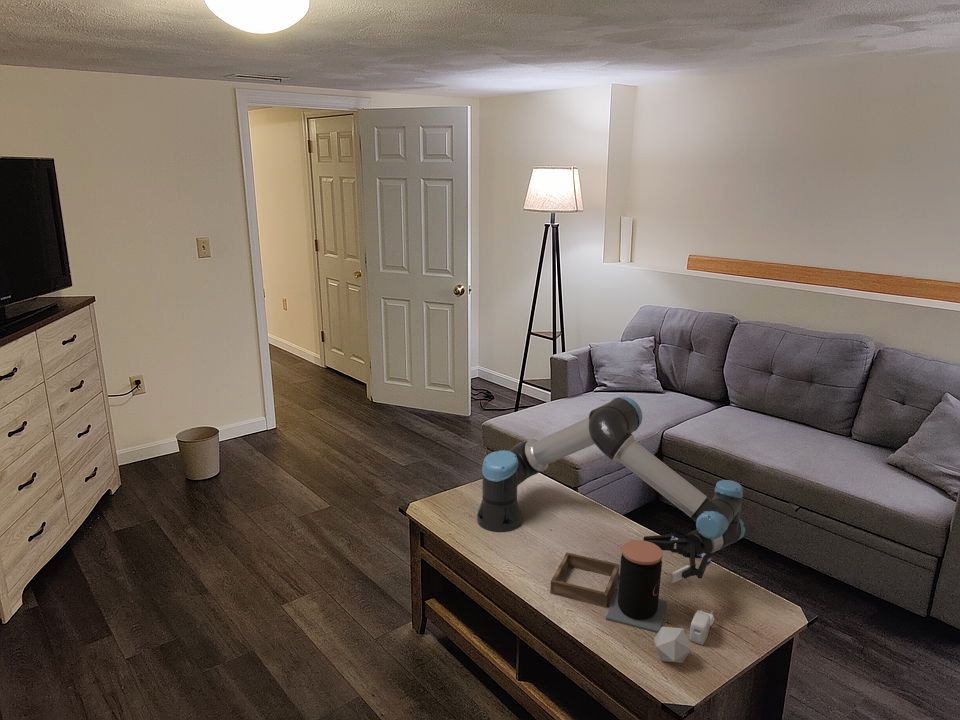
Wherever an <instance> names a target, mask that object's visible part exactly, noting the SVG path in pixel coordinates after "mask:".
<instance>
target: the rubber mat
mask: <svg viewBox="0 0 960 720" xmlns="http://www.w3.org/2000/svg"><path fill="white" fill-rule="evenodd" d="M618 590H619V588H616V590H615V593H614V595H613V598H612V601H611V604H610V606H609V608H608V612H607V615H606V616H605V620H606V621H610V622H614V623H619V624H621V625H624V626H628V627H634V628H638V629H640V630H641V629H642V630H644V631H648V632H649V631H650V632H651V633H657V634H658V632H659V631H660V629H661V627H662V624H663V619H664V616H665V613H666V610H667V609H666V608H667V604H668V600H667V599H662V598H659V600H658V609H657V612H656V613H655V614H654V615H653V616H652V617H651V618H649V619H644V620H637V619H633V618H630V617H628V616H626V615H625V614H624V613H623V612H622V611H621V610H620V608H619V606H618Z"/></svg>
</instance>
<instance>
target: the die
mask: <svg viewBox="0 0 960 720" xmlns="http://www.w3.org/2000/svg"><path fill="white" fill-rule="evenodd" d="M653 641H654V645H655V648H656V650H657V654H658V656H659V658H660V661H661V662H669V663H678V664H683V662H684V661H685V660H686V658H687V657H688V655H689V654H690V652H691V651H692V649H691V645H690V643H689V640H688V638H687V635H686V632H685V629H684V628H681V627H671V626H661V629H660V631H659V632H658V633H657V634H656V635H655V636H654V638H653Z"/></svg>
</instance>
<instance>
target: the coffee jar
mask: <svg viewBox="0 0 960 720" xmlns="http://www.w3.org/2000/svg"><path fill="white" fill-rule="evenodd" d="M663 554H664V553H663V550H661V549H660V548H659V547H658V546H657V545H655V544H654V543H651V542H648V541H643V539H635V540H629V541H626V542H624V544H622V547H621V556H620V564H619V576H618V579H619V580H618V582H619V583H618V589H619V590H618V606H619V608H620V610H621V611H622V612H623V613H624V614H625V615H626V616H628V617H630V618H633V619H637V620H644V619H649V618H651V617H652V616H653V615H654V614H655V613H656V612H657V609H658V600H659V599H660V588H661V587H660V586H661V580H662V579H661V576H662V566H663V560H662V559H663V556H664V555H663Z"/></svg>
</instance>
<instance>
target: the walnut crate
mask: <svg viewBox="0 0 960 720" xmlns="http://www.w3.org/2000/svg"><path fill="white" fill-rule="evenodd" d="M568 568H574V569H577V570H582V571H587V572H591V573H595V574H599V575H602V576H603V575H604V576H607V577H609V579H608V583H607V585H606V588H605V590H604V591H601V590H597V589H593V588H590V587H584V586H581V585H577V584H573V583H568V582H565V581H562V579H563V577H564V575H565V574H566V572H567V570H568ZM619 577H620V564H619V563H616V562H615V563H614V562H610V561H607V560H602V559H598V558H593V557H588V556H585V555H579V554H576V553H571V552H565V555H564V557H563V558H562V560H561V562H560V564H559V566H558V567H557V569H556V571H555V573H554V575H553V577H552V578H551V579H550V580H551V581H550V592H549V593H550V594H551V595H554V596H558V597H562V598H566V599H567V598H568V599H570V600H574V601H578V602H583V603H587V604H590V605H594V606H597V607H602V608H607V607H608V604H609V601H610V599H611V597H612V594H613V591H614V589H615V586H616V584H617V581H618V579H619Z"/></svg>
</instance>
